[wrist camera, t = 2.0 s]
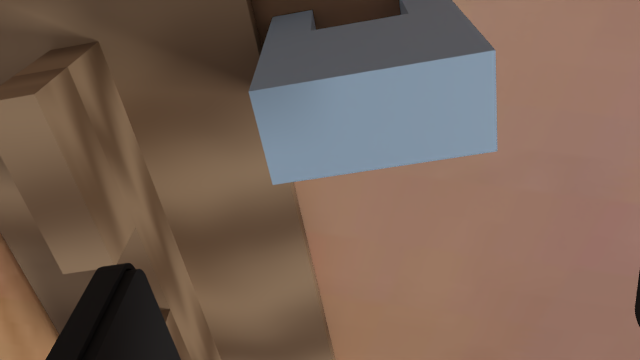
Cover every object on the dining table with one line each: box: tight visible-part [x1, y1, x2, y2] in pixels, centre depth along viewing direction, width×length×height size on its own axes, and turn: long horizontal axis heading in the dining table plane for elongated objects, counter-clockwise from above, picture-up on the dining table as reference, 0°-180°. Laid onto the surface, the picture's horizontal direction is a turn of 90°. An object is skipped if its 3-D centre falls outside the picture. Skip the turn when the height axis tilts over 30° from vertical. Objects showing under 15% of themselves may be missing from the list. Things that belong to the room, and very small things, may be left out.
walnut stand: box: [0, 0, 335, 360], centre depth 24 cm, size 24×14×6 cm, turn 10°
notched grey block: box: [249, 0, 497, 185], centre depth 19 cm, size 7×3×8 cm, turn 100°
